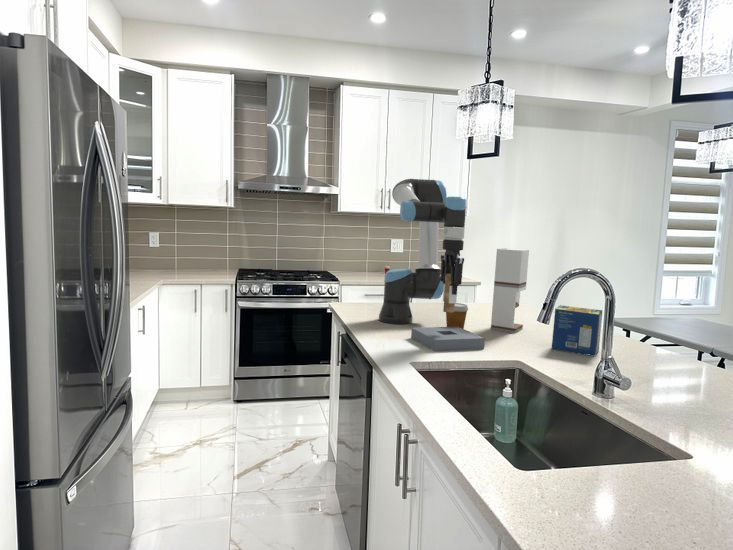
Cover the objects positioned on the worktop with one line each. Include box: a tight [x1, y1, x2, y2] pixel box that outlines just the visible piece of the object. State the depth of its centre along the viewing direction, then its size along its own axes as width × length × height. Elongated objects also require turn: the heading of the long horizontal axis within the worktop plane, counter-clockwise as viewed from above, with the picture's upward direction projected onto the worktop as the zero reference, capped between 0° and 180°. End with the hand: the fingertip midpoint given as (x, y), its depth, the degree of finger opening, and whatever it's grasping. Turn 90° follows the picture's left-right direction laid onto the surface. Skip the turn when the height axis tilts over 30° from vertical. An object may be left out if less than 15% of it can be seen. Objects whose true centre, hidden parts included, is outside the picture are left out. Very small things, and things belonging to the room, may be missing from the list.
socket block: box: [410, 326, 486, 352], centre depth 193 cm, size 20×20×4 cm
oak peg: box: [442, 274, 455, 313], centre depth 191 cm, size 4×4×14 cm
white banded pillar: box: [490, 247, 530, 334], centre depth 223 cm, size 11×11×35 cm
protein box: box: [550, 304, 603, 356], centre depth 192 cm, size 10×15×16 cm
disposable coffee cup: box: [445, 302, 469, 330], centre depth 211 cm, size 10×10×12 cm
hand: (449, 302), depth 192 cm, fingers closed on oak peg, 4 cm apart
